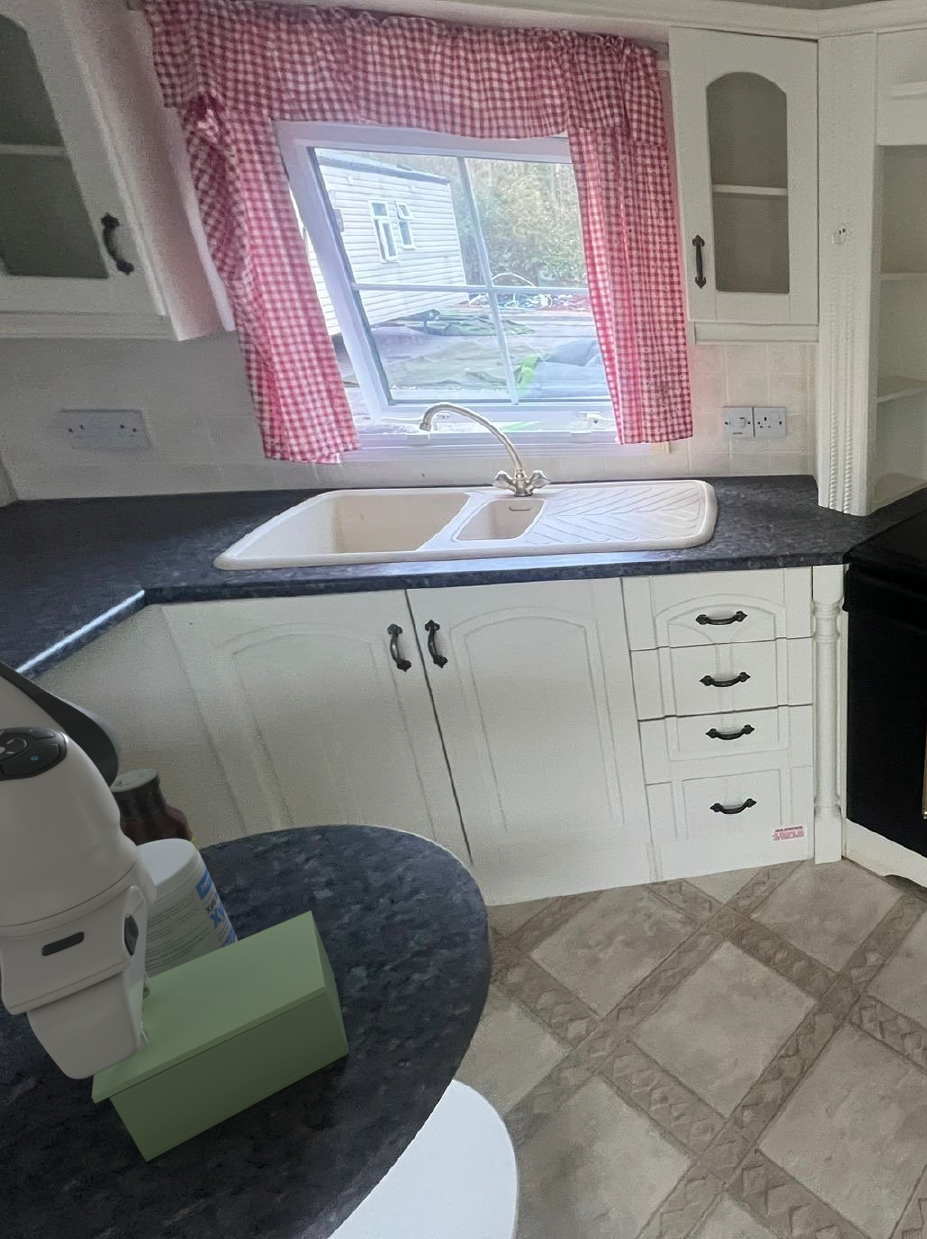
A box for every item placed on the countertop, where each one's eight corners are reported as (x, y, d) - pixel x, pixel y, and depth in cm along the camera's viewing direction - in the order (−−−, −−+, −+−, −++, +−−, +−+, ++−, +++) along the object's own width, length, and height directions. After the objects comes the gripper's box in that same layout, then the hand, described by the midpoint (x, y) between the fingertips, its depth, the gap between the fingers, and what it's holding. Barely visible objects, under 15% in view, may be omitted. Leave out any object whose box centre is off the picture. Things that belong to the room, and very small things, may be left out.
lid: (94, 1103, 61) (74, 1066, 60) (105, 1004, 69) (87, 968, 67) (326, 992, 71) (314, 957, 69) (312, 915, 79) (301, 883, 77)
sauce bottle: (131, 940, 85) (65, 803, 78) (167, 897, 91) (109, 765, 83) (199, 930, 87) (141, 795, 79) (231, 888, 92) (179, 758, 85)
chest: (146, 1162, 65) (109, 1098, 62) (150, 1061, 73) (118, 999, 70) (349, 1053, 74) (326, 992, 71) (333, 974, 82) (312, 916, 79)
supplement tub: (258, 952, 84) (217, 854, 79) (151, 1026, 76) (97, 921, 71) (210, 922, 88) (168, 825, 82) (102, 989, 80) (47, 886, 74)
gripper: (37, 853, 66) (95, 963, 71) (-3, 1019, 52) (73, 1141, 57) (136, 821, 70) (185, 927, 75) (123, 967, 56) (184, 1085, 61)
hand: (136, 1021), depth 66 cm, fingers closed on lid, 5 cm apart
